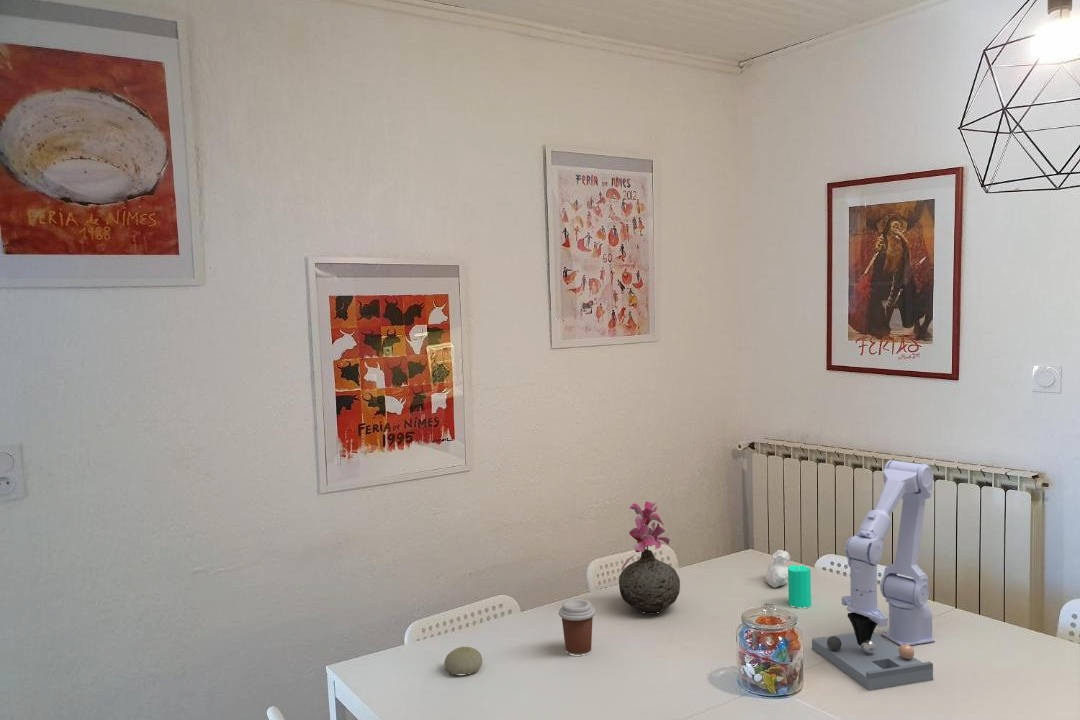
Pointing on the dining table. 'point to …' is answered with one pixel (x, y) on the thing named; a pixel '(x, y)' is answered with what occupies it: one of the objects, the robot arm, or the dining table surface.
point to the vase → (648, 568)
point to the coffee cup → (577, 625)
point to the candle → (799, 586)
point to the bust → (778, 569)
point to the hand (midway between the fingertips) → (863, 645)
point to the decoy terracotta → (906, 651)
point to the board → (874, 662)
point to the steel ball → (868, 646)
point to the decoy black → (834, 643)
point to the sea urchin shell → (463, 661)
